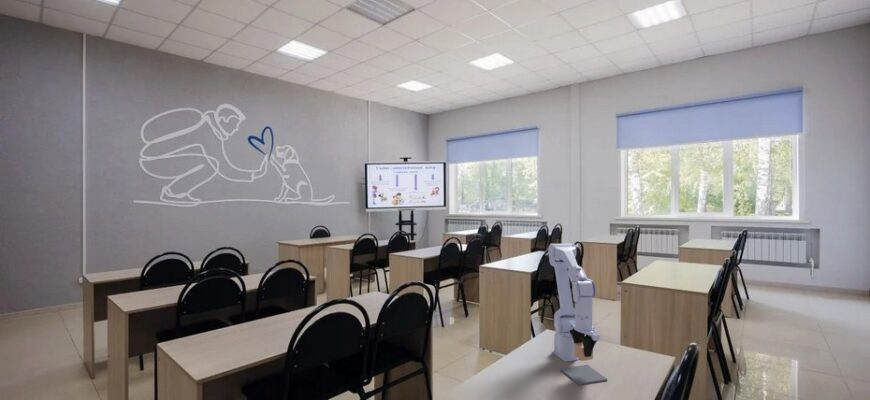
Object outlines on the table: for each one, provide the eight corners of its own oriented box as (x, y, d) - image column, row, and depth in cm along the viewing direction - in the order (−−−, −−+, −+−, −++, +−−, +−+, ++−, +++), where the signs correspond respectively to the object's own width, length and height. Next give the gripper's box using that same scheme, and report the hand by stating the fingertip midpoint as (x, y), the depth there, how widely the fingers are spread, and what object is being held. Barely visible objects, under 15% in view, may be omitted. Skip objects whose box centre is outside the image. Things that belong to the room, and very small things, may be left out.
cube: (574, 355, 141) (574, 343, 141) (585, 354, 142) (585, 341, 142) (581, 360, 137) (581, 348, 137) (592, 359, 138) (593, 346, 138)
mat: (560, 370, 144) (560, 368, 144) (587, 366, 146) (587, 364, 146) (579, 385, 133) (579, 383, 133) (607, 380, 136) (607, 378, 136)
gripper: (607, 320, 133) (607, 360, 133) (580, 307, 147) (580, 343, 147) (589, 322, 131) (588, 363, 132) (563, 309, 145) (563, 346, 146)
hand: (583, 353), depth 139 cm, fingers closed on cube, 4 cm apart
